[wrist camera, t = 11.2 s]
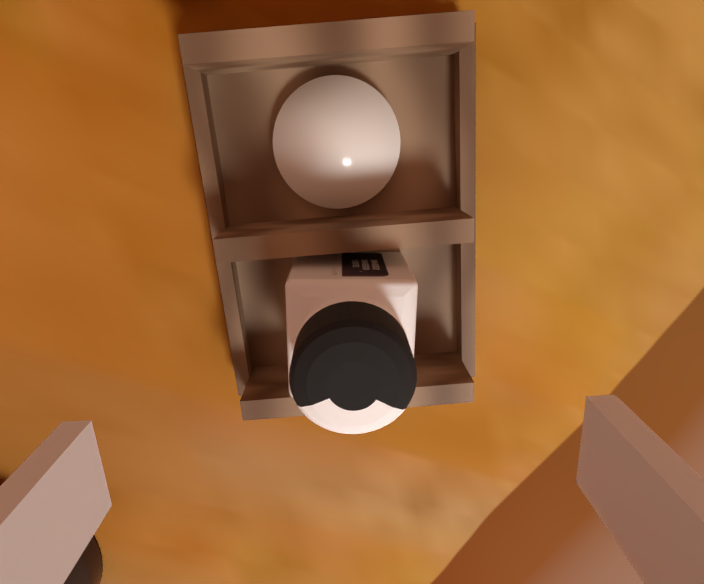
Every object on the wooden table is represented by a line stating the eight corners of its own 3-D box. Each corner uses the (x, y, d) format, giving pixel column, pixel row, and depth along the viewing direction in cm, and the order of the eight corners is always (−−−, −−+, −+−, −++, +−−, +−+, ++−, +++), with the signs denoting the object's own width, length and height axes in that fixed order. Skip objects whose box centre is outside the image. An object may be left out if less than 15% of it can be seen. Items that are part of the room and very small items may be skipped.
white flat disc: (281, 210, 34) (280, 212, 33) (267, 81, 32) (265, 79, 31) (400, 202, 34) (402, 204, 33) (396, 72, 32) (398, 70, 31)
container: (295, 249, 35) (271, 313, 23) (402, 250, 35) (436, 313, 23) (298, 348, 37) (278, 453, 25) (398, 348, 38) (427, 452, 25)
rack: (244, 379, 39) (228, 421, 34) (191, 53, 32) (159, 35, 26) (467, 361, 39) (488, 400, 34) (465, 30, 32) (492, 8, 26)
